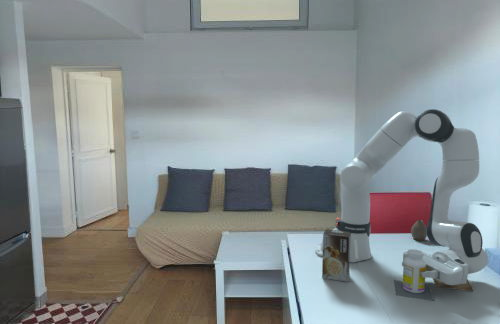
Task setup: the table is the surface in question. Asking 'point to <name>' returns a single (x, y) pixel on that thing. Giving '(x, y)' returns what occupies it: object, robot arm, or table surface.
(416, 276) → the supplement bottle
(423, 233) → the vase
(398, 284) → the slate mat
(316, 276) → the table surface
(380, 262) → the table surface
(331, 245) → the coffee box
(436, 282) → the walnut board
